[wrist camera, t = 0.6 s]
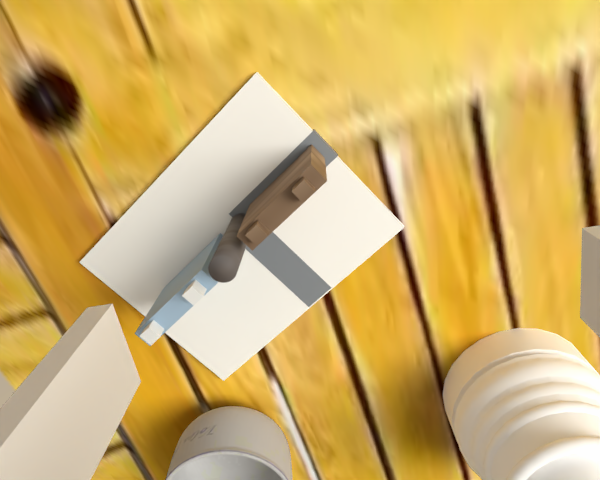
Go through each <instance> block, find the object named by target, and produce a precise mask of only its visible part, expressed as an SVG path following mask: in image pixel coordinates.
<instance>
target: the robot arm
mask: <svg viewBox="0 0 600 480" xmlns="http://www.w3.org/2000/svg"><path fill="white" fill-rule="evenodd" d="M580 318H581V319H582V320H583V321H584V322H585V323H586V324H587V325H588V326H589V327H590V328H591V329H592V330H593V331H594V332H595V333H596V334H597V335H598V336H599V337H600V226H594V227H587V228H582V260H581V306H580ZM140 382H141V380H140V378H139V375H138V372H137V369H136V367H135V364H134V361H133V358H132V356H131V353H130V350H129V348H128V345H127V342H126V339H125V337H124V334H123V331H122V328H121V326H120V323H119V320H118V318H117V315H116V312H115V309H114V307H113V304H107V305H100V306H94V307H88V308H87V309H86V310H85V311H84V312H83V313H82V314H81V315H80V317H79V318H78V319H77V320H76V321H75V322H74V324H73V325H72V326H71V327H70V328H69V329H68V331H67V332H66V333H65V334H64V335H63V336H62V337H61V339H60V340H59V341H58V342H57V343H56V344H55V346H54V347H53V348H52V349H51V350H50V351H49V353H48V354H47V355H46V356H45V357H44V358H43V360H42V361H41V362H40V363H39V364H38V365H37V366H36V368H35V369H34V370H33V371H32V372H31V373H30V375H29V376H28V377H27V378H26V379H25V380H24V382H23V383H22V384H21V385H20V386H19V387H18V388H17V390H16V391H15V392H14V393H13V394H12V395H11V397H10V398H9V399H8V400H7V401H6V402H5V404H4V405H3V406H2V407H1V408H0V480H91V478H92V476H93V474H94V472H95V470H96V468H97V466H98V464H99V462H100V461H101V459H102V457H103V455H104V453H105V451H106V449H107V447H108V445H109V443H110V441H111V439H112V437H113V435H114V433H115V431H116V429H117V427H118V425H119V423H120V421H121V419H122V417H123V416H124V414H125V412H126V410H127V408H128V406H129V404H130V402H131V400H132V398H133V396H134V394H135V392H136V390H137V388H138V386H139V384H140Z"/></svg>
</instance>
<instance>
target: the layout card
mask: <svg viewBox="0 0 600 480" xmlns="http://www.w3.org/2000/svg"><path fill="white" fill-rule="evenodd" d="M311 144H312V145H313V146H314V147H315V148H316V149H317V150H318V151H319V152H320V153H321V154H322V155H323V157H324V158H325V165H326V175H327V182H326V183H324V184H323V185H322V186H321V187H320V188H319V189H318V190H317V191H316V192H315V193H314V194H313V195H312V196H311V197H309V198H308V199H307V200H306V201H305V202H304V203H303V204H302V205H301V206H300V207H299V208H298V209H297V210H296V211H294V212H293V213H292V214H291V215H290V216H289V217H288V218H287V219H286V220H285V221H284V222H283V223H282V224H281V225H279V226H278V227H277V228H276V229H275V230H274V231H273V232H272V233H271V234H270V235H269V236H268V237H267V238H266V239H264V240H263V241H262V242H261V243H260V244H259V245H258V246H257V247H256V248H255V249H254V250H253V251H252V250H251V249H250V248H249V247H248V246H246V248H245V251H244V254H243V257H242V260H241V263H240V266H239V269H238V271H237V274H236V276H235V278H234V279H233V280H231V281H230V282H226V283H221V282H218V283H217V284H216V285H215V286H214V287H213V288H212V289H211V290H210V291H209V292H208V293H207V294H206V295H204V296H203V297H202V298H201V299H200V300H199V301H198V302H197V303H196V304H195V305H194V306H193V307H192V308H191V309H190V310H188V311H187V312H186V313H185V314H184V315H183V316H182V317H181V318H180V319H179V320H178V321H177V322H176V323H175V324H173V325H172V326H171V327H170V328H169V329H168V330H167V331H166V332H165V333H166V334H167V335H168V336H170V337H171V338H172V339H173V340H174V341H176V342H177V343H178V344H179V345H181V346H182V347H183V348H184V349H185V350H187V351H188V352H189V353H190V354H192V355H193V356H194V357H195V358H196V359H198V360H199V361H200V362H201V363H202V364H204V365H205V366H206V367H207V368H209V369H210V370H211V371H212V372H213V373H215V374H216V375H217V376H218V377H220V378H221V379H222V380H223V381H224V380H225V379H226V378H228V377H229V376H230V375H231V374H232V373H233V372H235V371H236V370H237V369H238V368H239V367H241V366H242V365H243V364H244V363H245V362H246V361H248V360H249V359H250V358H251V357H252V356H253V355H255V354H256V353H257V352H258V351H259V350H261V349H262V348H263V347H264V346H265V345H266V344H268V343H269V342H270V341H271V340H272V339H273V338H275V337H276V336H277V335H278V334H279V333H281V332H282V331H283V330H284V329H285V328H286V327H288V326H289V325H290V324H291V323H292V322H293V321H295V320H296V319H297V318H298V317H299V316H301V315H302V314H303V313H304V312H305V311H306V310H308V309H309V308H310V307H311V306H312V305H313V304H315V303H316V302H317V301H318V300H319V299H321V298H322V297H323V296H324V295H325V294H326V293H328V292H329V291H330V290H331V289H332V288H333V287H335V286H336V285H337V284H338V283H339V282H341V281H342V280H343V279H344V278H345V277H346V276H348V275H349V274H350V273H351V272H352V271H354V270H355V269H356V268H357V267H358V266H359V265H361V264H362V263H363V262H364V261H365V260H366V259H368V258H369V257H370V256H371V255H372V254H374V253H375V252H376V251H377V250H378V249H379V248H381V247H382V246H383V245H384V244H385V243H386V242H388V241H389V240H390V239H391V238H392V237H394V236H395V235H396V234H397V233H398V232H399V231H401V230H402V229H403V228H404V225H403V224H402V223H401V222H400V221H399V220H398V219H397V218H396V216H395V215H394V214H393V213H392V212H391V211H390V210H389V209H388V208H387V207H386V206H385V205H384V204H383V203H382V202H381V201H380V200H379V199H378V198H377V197H376V196H375V195H374V193H373V192H372V191H371V190H370V189H369V188H368V187H367V186H366V185H365V184H364V183H363V182H362V181H361V180H360V179H359V178H358V177H357V176H356V175H355V174H354V173H353V172H352V170H351V169H350V168H349V167H348V166H347V165H346V164H345V163H344V162H343V161H342V160H341V159H340V158H339V157H338V154H337V153H336V152H335V151H334V150H333V149H332V148H331V147H330V145H329V144H328V143H327V142H326V141H325V140H324V139H323V138H322V137H321V136H320V135H319V134H318V133H317V132H316V131H315V130H314V129H313V130H312V129H311V128H310V127H309V125H308V124H307V123H306V122H305V121H304V120H303V119H302V118H301V117H300V116H299V115H298V114H297V113H296V112H295V111H294V110H293V109H292V108H291V107H290V106H289V105H288V103H287V102H286V101H285V100H284V99H283V98H282V97H281V96H280V95H279V94H278V93H277V92H276V91H275V90H274V89H273V88H272V87H271V86H270V85H269V84H268V83H267V82H266V80H265V79H264V78H263V77H262V76H261V75H260V74H259V73H258V72H256V73H255V74H254V75H253V77H252V78H251V79H250V80H249V81H248V82H247V83H246V84H245V85H244V86H243V87H242V88H241V89H240V90H239V92H238V93H237V94H236V95H235V96H234V97H233V98H232V99H231V100H230V101H229V102H228V103H227V104H226V105H225V107H224V108H223V109H222V110H221V111H220V112H219V113H218V114H217V115H216V116H215V117H214V118H213V119H212V120H211V122H210V123H209V124H208V125H207V126H206V127H205V128H204V129H203V130H202V131H201V132H200V133H199V134H198V136H197V137H196V138H195V139H194V140H193V141H192V142H191V143H190V144H189V145H188V146H187V147H186V148H185V149H184V151H183V152H182V153H181V154H180V155H179V156H178V157H177V158H176V159H175V160H174V161H173V162H172V163H171V164H170V166H169V167H168V168H167V169H166V170H165V171H164V172H163V173H162V174H161V175H160V176H159V177H158V178H157V179H156V181H155V182H154V183H153V184H152V185H151V186H150V187H149V188H148V189H147V190H146V191H145V192H144V193H143V194H142V196H141V197H140V198H139V199H138V200H137V201H136V202H135V203H134V204H133V205H132V206H131V207H130V208H129V209H128V211H127V212H126V213H125V214H124V215H123V216H122V217H121V218H120V219H119V220H118V221H117V222H116V223H115V224H114V226H113V227H112V228H111V229H110V230H109V231H108V232H107V233H106V234H105V235H104V236H103V237H102V238H101V239H100V241H99V242H98V243H97V244H96V245H95V246H94V247H93V248H92V249H91V250H90V251H89V252H88V253H87V254H86V256H85V257H84V258H83V259H82V260H81V261H80V262H79V263H81V264H82V265H83V266H84V267H85V268H87V269H88V270H89V271H90V272H92V273H93V274H94V275H95V276H96V277H98V278H99V279H100V280H101V281H103V282H104V283H105V284H106V285H107V286H109V287H110V288H111V289H112V290H113V291H115V292H116V293H117V294H118V295H120V296H121V297H122V298H123V299H124V300H126V301H127V302H128V303H129V304H131V305H132V306H133V307H134V308H135V309H137V310H138V311H139V312H140V313H142V314H143V315H144V316H145V317H146V315H147V313H148V312H149V310H150V309H151V307H152V306H153V304H154V302H155V301H156V299H157V298H158V296H159V295H160V293H161V291H162V290H163V288H164V287H165V286H166V285H167V284H168V283H169V282H170V281H171V280H173V279H174V278H175V277H176V276H177V275H178V274H179V273H180V272H181V271H182V270H183V269H184V268H185V267H186V266H187V265H188V264H189V263H190V262H191V261H192V260H193V259H194V258H195V257H196V256H197V255H198V254H199V253H200V252H201V251H202V250H203V249H204V248H205V247H206V246H207V245H209V244H210V243H211V242H212V241H213V240H214V239H215V238H216V237H217V236H218V235H219V234H220V233H221V234H222V235H224V233H225V231H226V229H227V227H228V225H229V223H230V221H231V219H232V217H233V216H235V215H236V214H240V213H242V214H246V212H247V210H248V208H249V205H250V204H251V203H252V202H253V201H254V200H255V199H256V198H257V197H258V196H259V195H260V194H261V193H262V192H263V191H264V190H265V189H266V188H267V187H268V186H269V185H270V184H271V183H272V182H273V181H274V180H275V179H276V178H277V177H278V176H279V175H280V174H282V173H283V172H284V171H285V170H286V169H287V168H288V167H289V166H290V165H291V164H292V163H293V162H294V161H295V160H296V159H297V158H298V157H299V156H300V155H301V154H302V153H303V152H304V151H305V150H306V149H307V148H308V147H309V146H310V145H311Z"/></svg>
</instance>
